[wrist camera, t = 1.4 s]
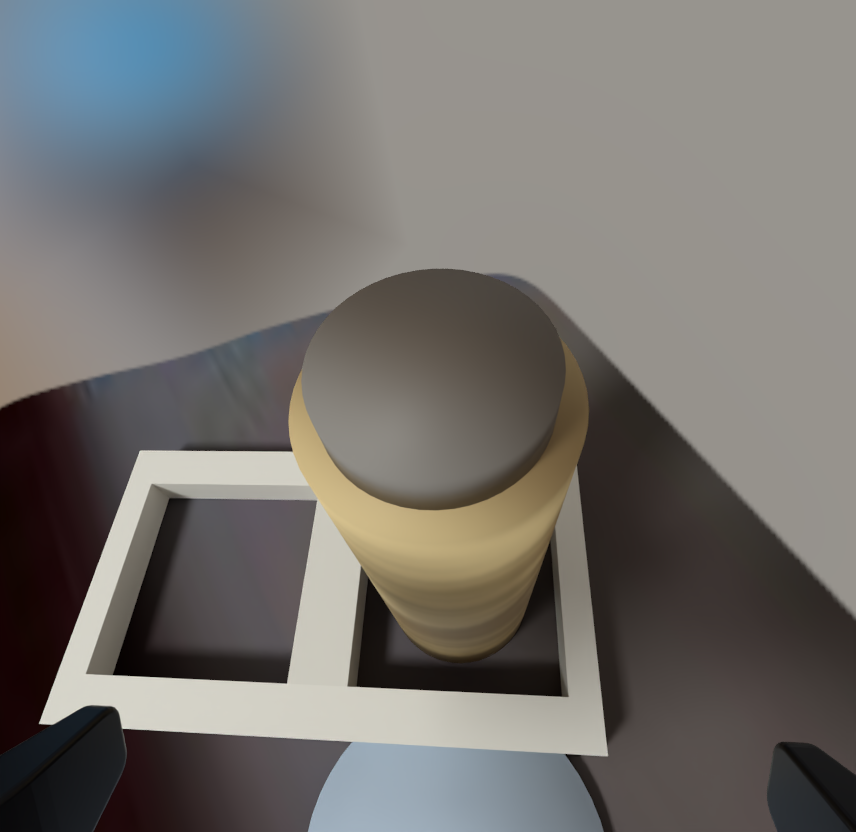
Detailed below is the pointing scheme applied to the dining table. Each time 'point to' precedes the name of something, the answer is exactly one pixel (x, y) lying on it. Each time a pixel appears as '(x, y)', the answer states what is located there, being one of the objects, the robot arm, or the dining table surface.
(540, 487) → the plug
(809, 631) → the dining table surface
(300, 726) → the holder
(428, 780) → the coaster
